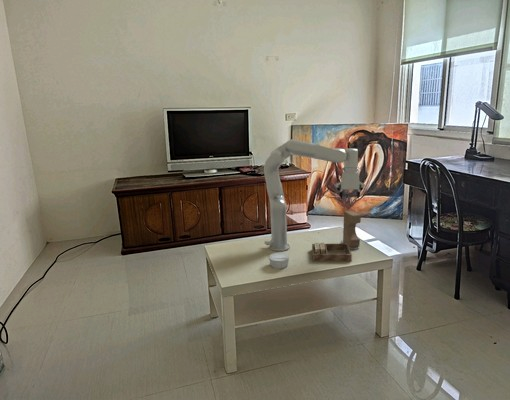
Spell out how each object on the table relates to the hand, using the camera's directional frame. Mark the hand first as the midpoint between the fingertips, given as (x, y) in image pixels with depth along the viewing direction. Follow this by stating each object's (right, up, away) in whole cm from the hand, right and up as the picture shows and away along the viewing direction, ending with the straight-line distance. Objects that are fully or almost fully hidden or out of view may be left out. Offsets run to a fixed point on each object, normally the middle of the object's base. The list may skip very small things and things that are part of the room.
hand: (349, 198), depth 214 cm
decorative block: (+3, -29, +7) cm, 30 cm away
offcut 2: (-17, -33, -6) cm, 38 cm away
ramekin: (-43, -37, -17) cm, 60 cm away
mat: (+2, -29, +7) cm, 30 cm away
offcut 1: (-20, -33, -6) cm, 40 cm away
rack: (-13, -33, -7) cm, 36 cm away
